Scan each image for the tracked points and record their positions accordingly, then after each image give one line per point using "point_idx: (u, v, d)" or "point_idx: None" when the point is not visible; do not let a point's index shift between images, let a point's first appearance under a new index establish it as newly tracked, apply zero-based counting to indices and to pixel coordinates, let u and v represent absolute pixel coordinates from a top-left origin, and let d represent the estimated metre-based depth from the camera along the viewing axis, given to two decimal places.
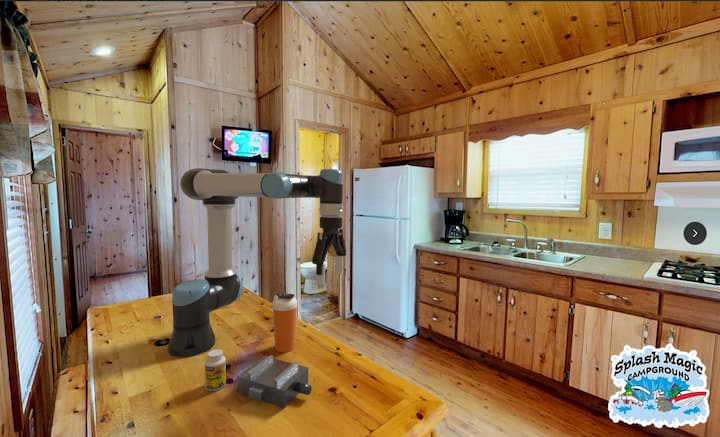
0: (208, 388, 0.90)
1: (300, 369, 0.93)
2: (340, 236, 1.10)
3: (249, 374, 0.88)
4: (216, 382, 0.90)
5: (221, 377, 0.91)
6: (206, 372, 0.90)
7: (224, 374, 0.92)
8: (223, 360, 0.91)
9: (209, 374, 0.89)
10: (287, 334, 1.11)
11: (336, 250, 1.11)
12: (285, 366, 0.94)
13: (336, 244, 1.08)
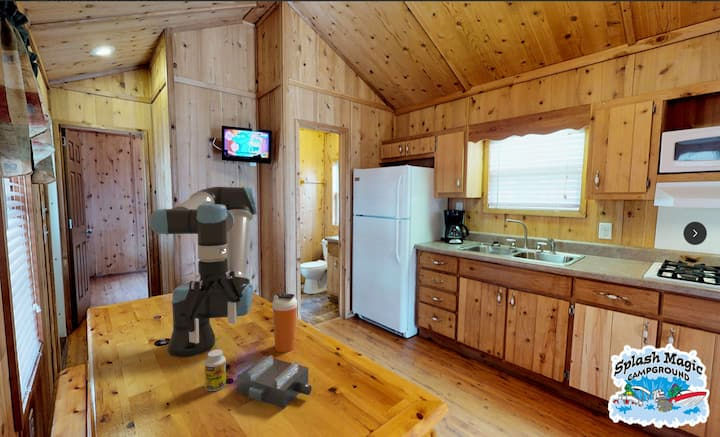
0: (208, 388, 0.90)
1: (300, 369, 0.93)
2: (231, 280, 0.95)
3: (249, 374, 0.88)
4: (216, 382, 0.90)
5: (221, 377, 0.91)
6: (206, 372, 0.90)
7: (224, 374, 0.92)
8: (223, 360, 0.91)
9: (209, 374, 0.89)
10: (287, 334, 1.11)
11: (227, 296, 0.95)
12: (285, 366, 0.94)
13: (224, 290, 0.93)
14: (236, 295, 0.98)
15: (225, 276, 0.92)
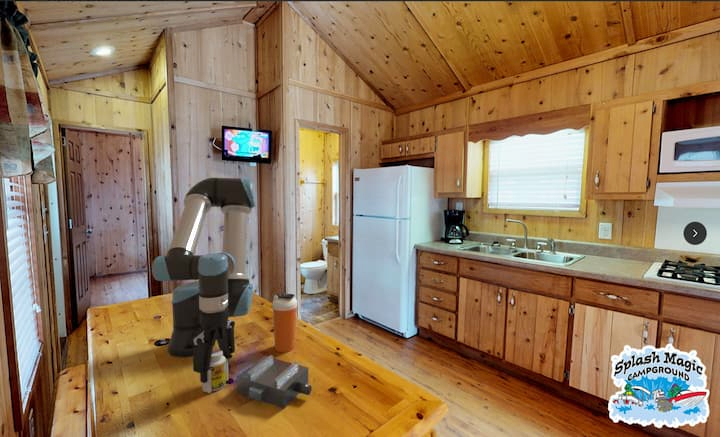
0: None
1: (300, 369, 0.93)
2: (229, 330, 0.95)
3: (249, 374, 0.88)
4: (216, 382, 0.90)
5: (221, 377, 0.91)
6: None
7: (224, 374, 0.92)
8: (223, 360, 0.91)
9: None
10: (287, 334, 1.11)
11: (221, 349, 0.94)
12: (285, 366, 0.94)
13: (221, 341, 0.93)
14: None
15: (226, 324, 0.93)
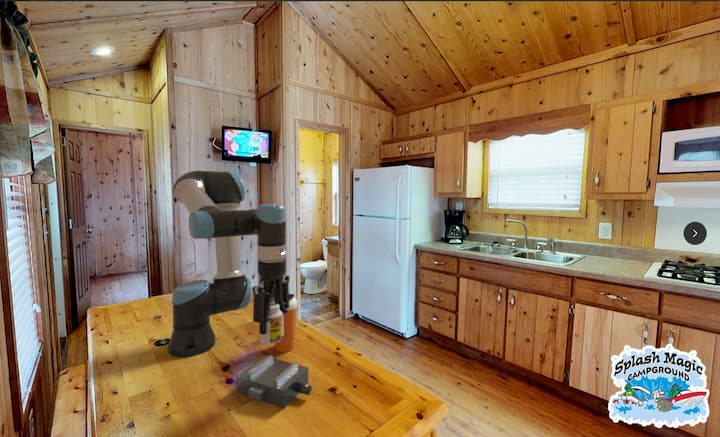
0: None
1: (300, 369, 0.93)
2: (284, 284, 0.93)
3: (249, 374, 0.88)
4: (274, 334, 0.88)
5: (279, 330, 0.89)
6: None
7: (281, 327, 0.90)
8: (280, 313, 0.89)
9: None
10: (287, 334, 1.11)
11: (276, 303, 0.92)
12: (285, 366, 0.94)
13: (277, 294, 0.91)
14: None
15: (282, 277, 0.92)
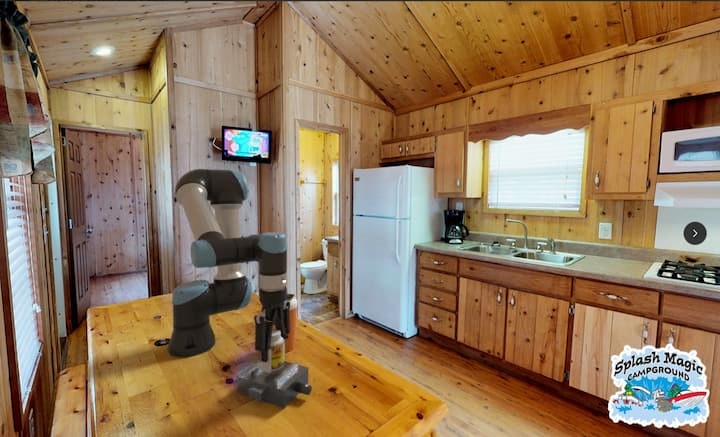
0: None
1: (300, 369, 0.93)
2: (286, 310, 0.94)
3: (249, 374, 0.88)
4: (275, 362, 0.89)
5: (280, 357, 0.90)
6: None
7: (282, 354, 0.91)
8: (282, 340, 0.90)
9: None
10: (287, 334, 1.11)
11: None
12: (285, 366, 0.94)
13: (278, 321, 0.92)
14: None
15: (283, 304, 0.92)
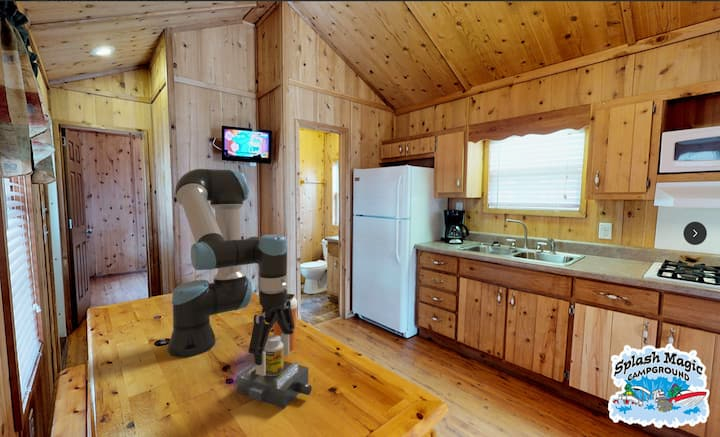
0: (267, 373, 0.89)
1: (300, 369, 0.93)
2: (287, 310, 0.95)
3: (249, 374, 0.88)
4: (275, 367, 0.89)
5: (280, 362, 0.90)
6: None
7: (282, 359, 0.91)
8: (281, 345, 0.91)
9: (269, 359, 0.88)
10: None
11: (281, 327, 0.95)
12: (285, 366, 0.94)
13: (281, 320, 0.93)
14: (288, 326, 0.97)
15: (283, 305, 0.92)
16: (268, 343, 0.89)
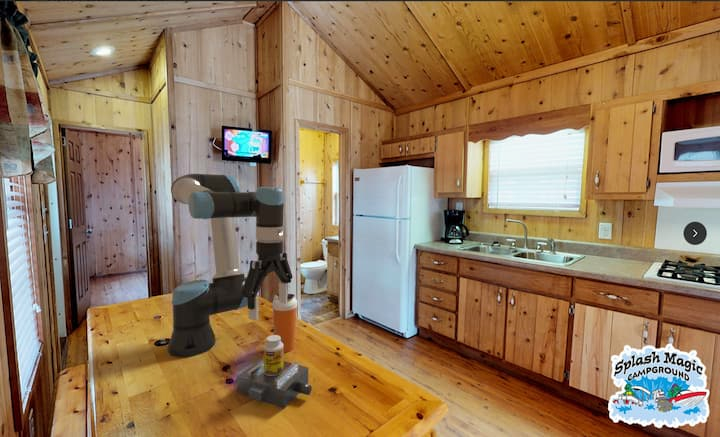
0: (267, 373, 0.89)
1: (300, 369, 0.93)
2: (283, 261, 0.98)
3: (249, 374, 0.88)
4: (275, 367, 0.89)
5: (280, 362, 0.90)
6: (265, 357, 0.89)
7: (282, 359, 0.91)
8: (281, 345, 0.91)
9: (269, 359, 0.88)
10: (287, 334, 1.11)
11: (279, 276, 0.98)
12: (285, 366, 0.94)
13: (278, 271, 0.96)
14: (287, 276, 1.01)
15: (279, 257, 0.95)
16: (268, 343, 0.89)
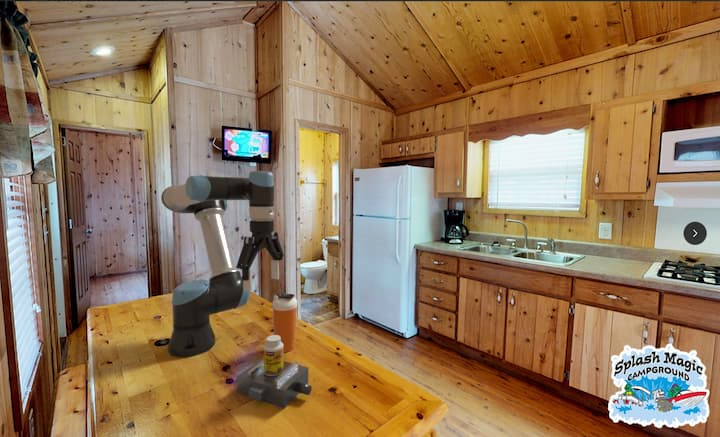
0: (267, 373, 0.89)
1: (300, 369, 0.93)
2: (275, 240, 1.07)
3: (249, 374, 0.88)
4: (275, 367, 0.89)
5: (280, 362, 0.90)
6: (265, 357, 0.89)
7: (282, 359, 0.91)
8: (281, 345, 0.91)
9: (269, 358, 0.88)
10: (287, 334, 1.11)
11: (271, 254, 1.08)
12: (285, 366, 0.94)
13: (270, 248, 1.05)
14: (278, 254, 1.10)
15: (271, 236, 1.04)
16: (268, 343, 0.89)
